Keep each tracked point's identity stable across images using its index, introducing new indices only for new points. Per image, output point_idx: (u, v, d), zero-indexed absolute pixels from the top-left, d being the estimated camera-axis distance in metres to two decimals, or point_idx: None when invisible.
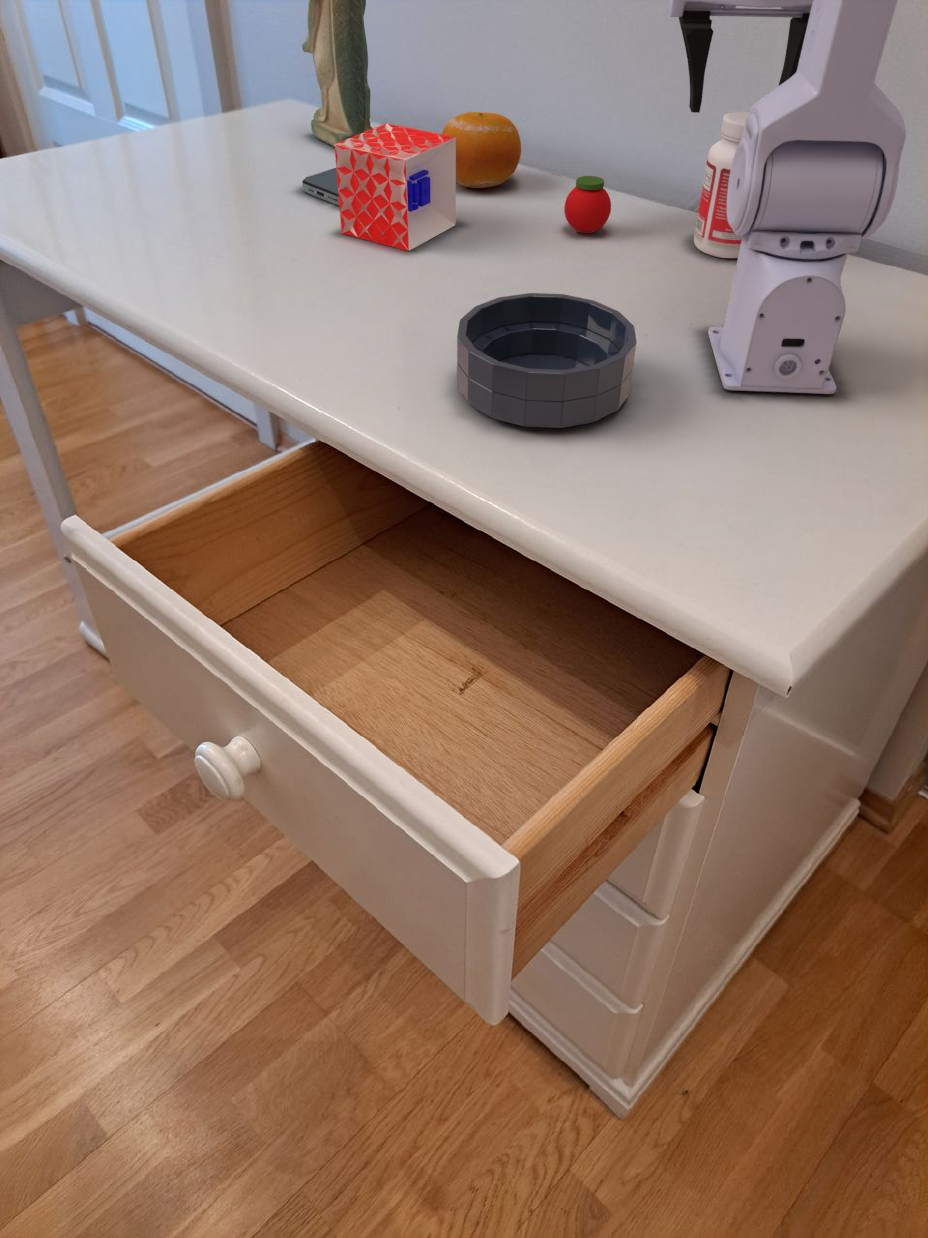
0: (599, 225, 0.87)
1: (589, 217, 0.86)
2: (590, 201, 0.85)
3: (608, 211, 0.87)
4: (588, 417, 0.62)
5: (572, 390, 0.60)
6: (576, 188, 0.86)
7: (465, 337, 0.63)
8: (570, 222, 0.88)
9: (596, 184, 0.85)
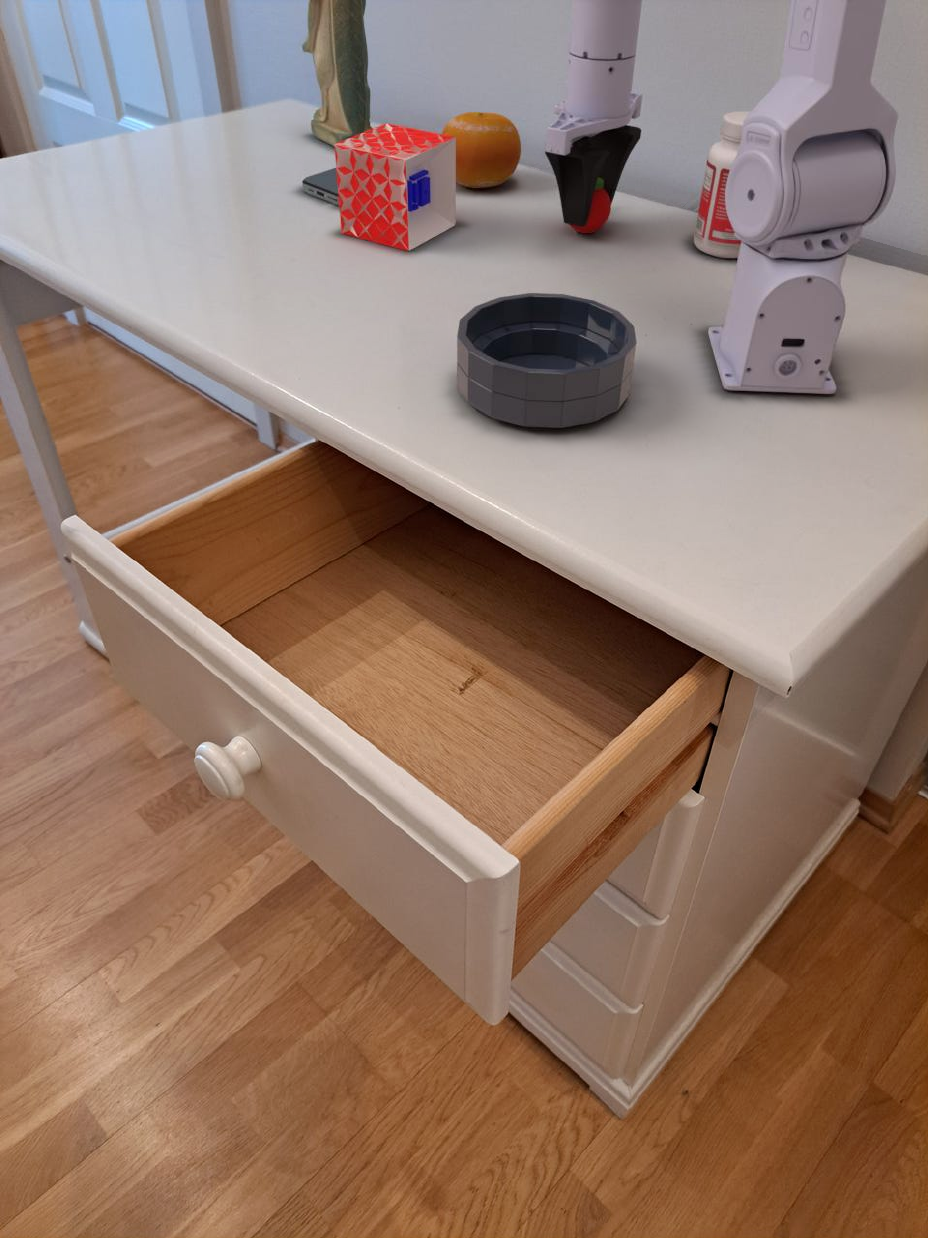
0: (599, 225, 0.87)
1: (589, 217, 0.86)
2: None
3: (608, 211, 0.87)
4: (588, 417, 0.62)
5: (572, 390, 0.60)
6: None
7: (465, 337, 0.63)
8: None
9: (596, 184, 0.85)
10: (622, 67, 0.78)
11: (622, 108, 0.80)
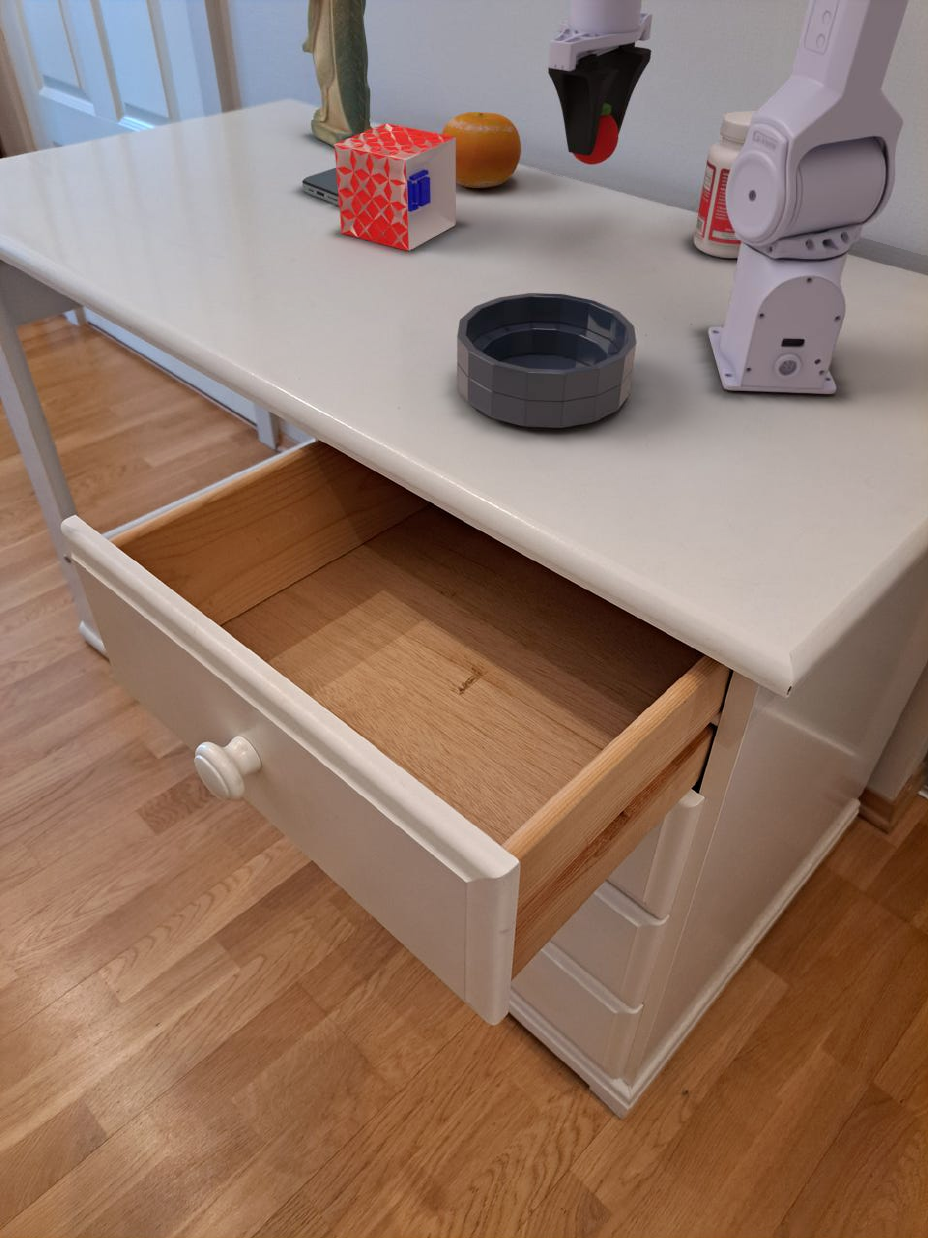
0: (606, 155, 0.82)
1: (595, 145, 0.81)
2: None
3: (615, 139, 0.81)
4: (588, 417, 0.62)
5: (572, 390, 0.60)
6: None
7: (465, 337, 0.63)
8: None
9: (603, 109, 0.80)
10: None
11: (631, 22, 0.74)
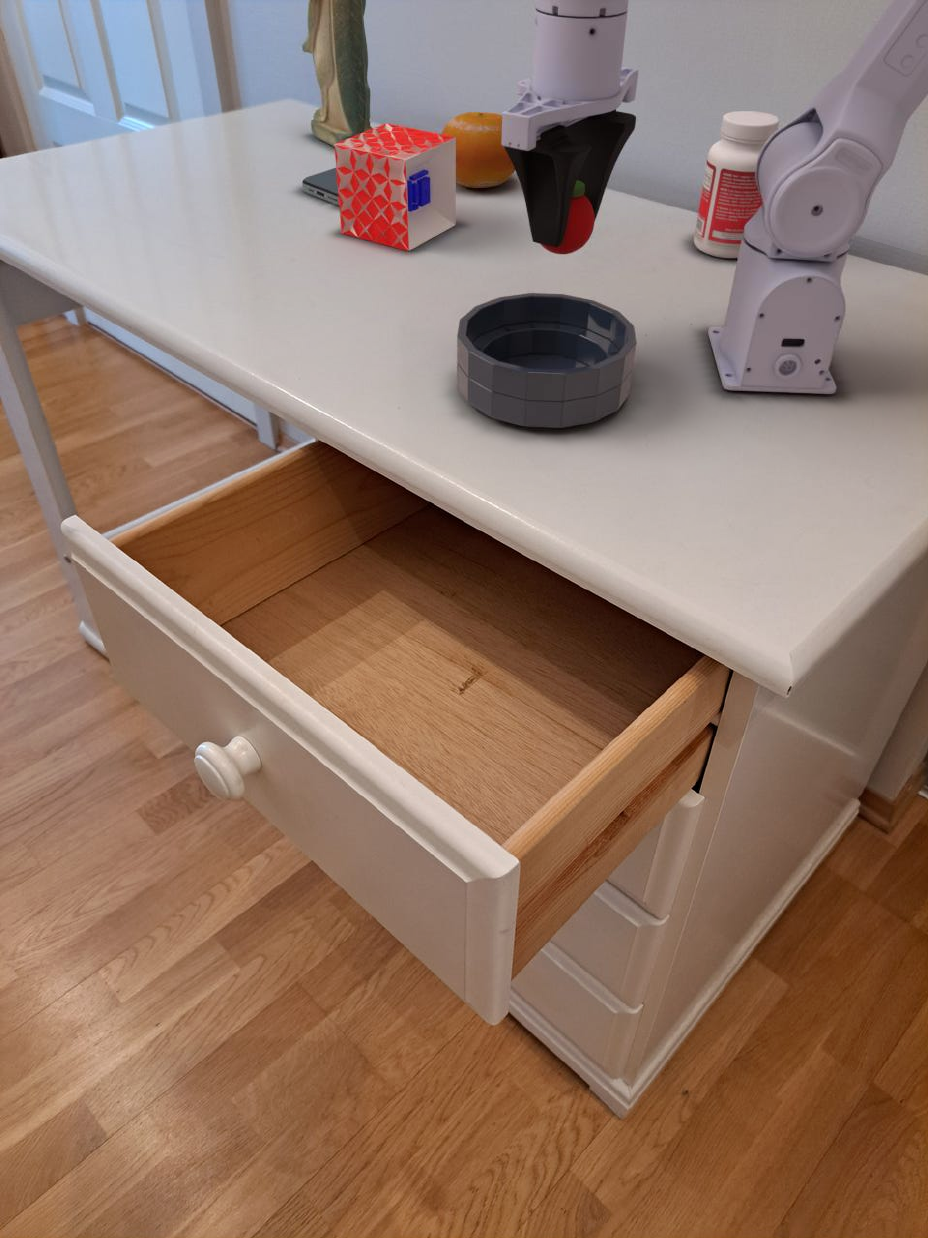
0: (578, 244, 0.65)
1: None
2: None
3: (590, 226, 0.65)
4: (588, 417, 0.62)
5: (572, 390, 0.60)
6: None
7: (465, 337, 0.63)
8: None
9: (574, 190, 0.63)
10: (608, 28, 0.56)
11: (608, 86, 0.58)
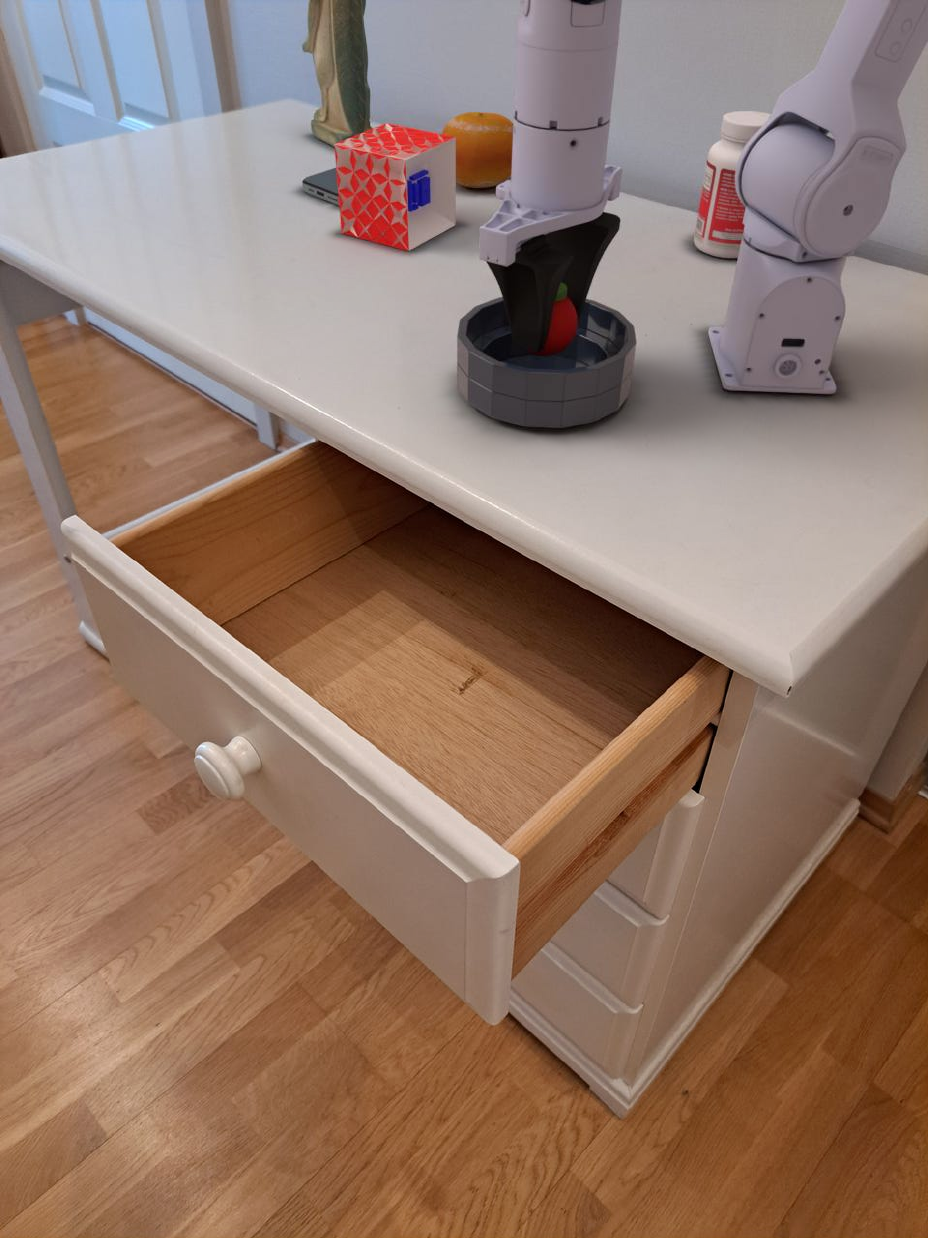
0: (561, 348, 0.63)
1: None
2: None
3: (573, 329, 0.62)
4: (588, 417, 0.62)
5: (572, 390, 0.60)
6: None
7: (465, 337, 0.63)
8: None
9: None
10: (590, 140, 0.53)
11: (591, 195, 0.56)
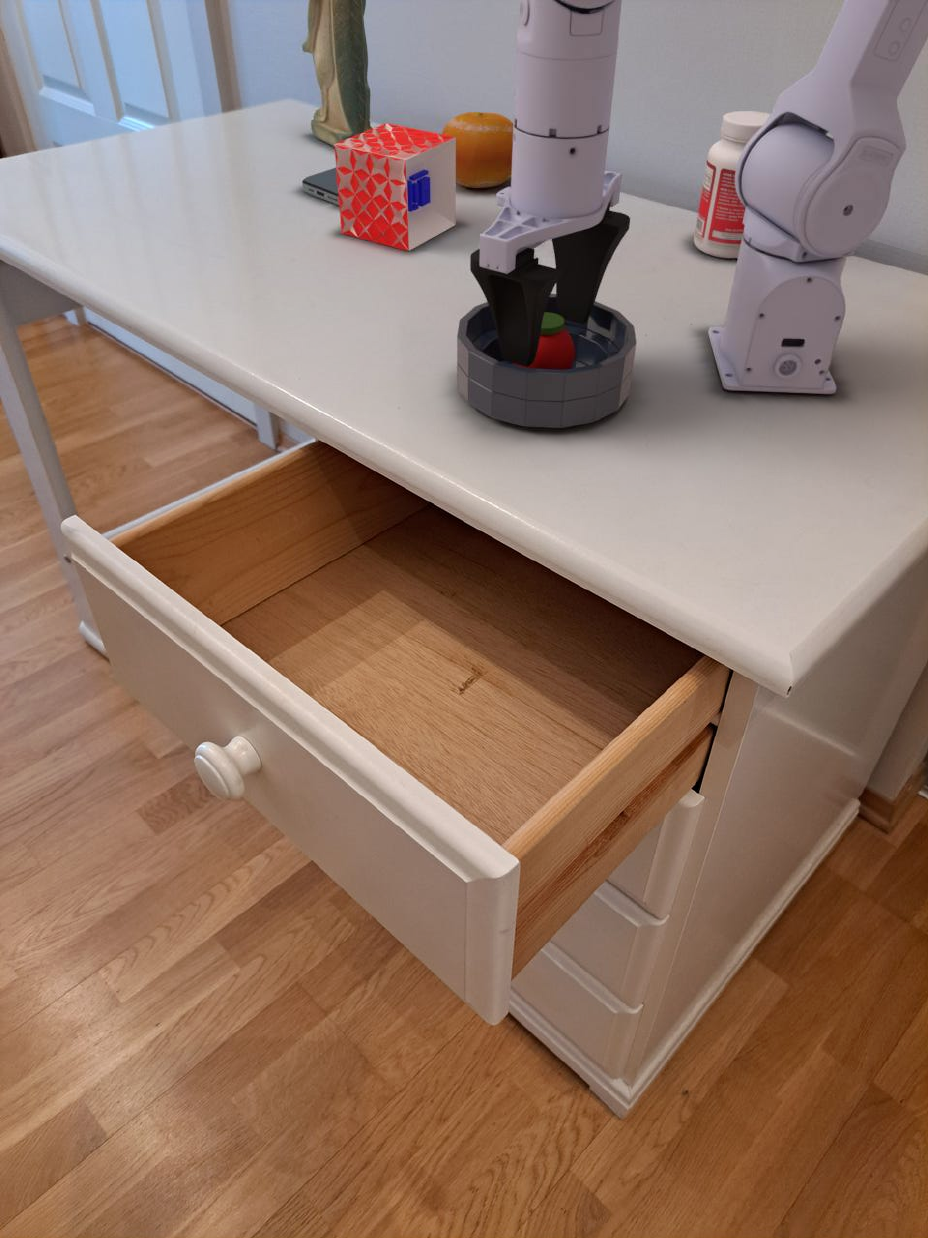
0: None
1: None
2: (545, 349, 0.63)
3: (571, 360, 0.64)
4: (588, 417, 0.62)
5: (572, 390, 0.60)
6: None
7: (465, 337, 0.63)
8: None
9: (553, 327, 0.62)
10: (589, 148, 0.53)
11: (590, 202, 0.56)
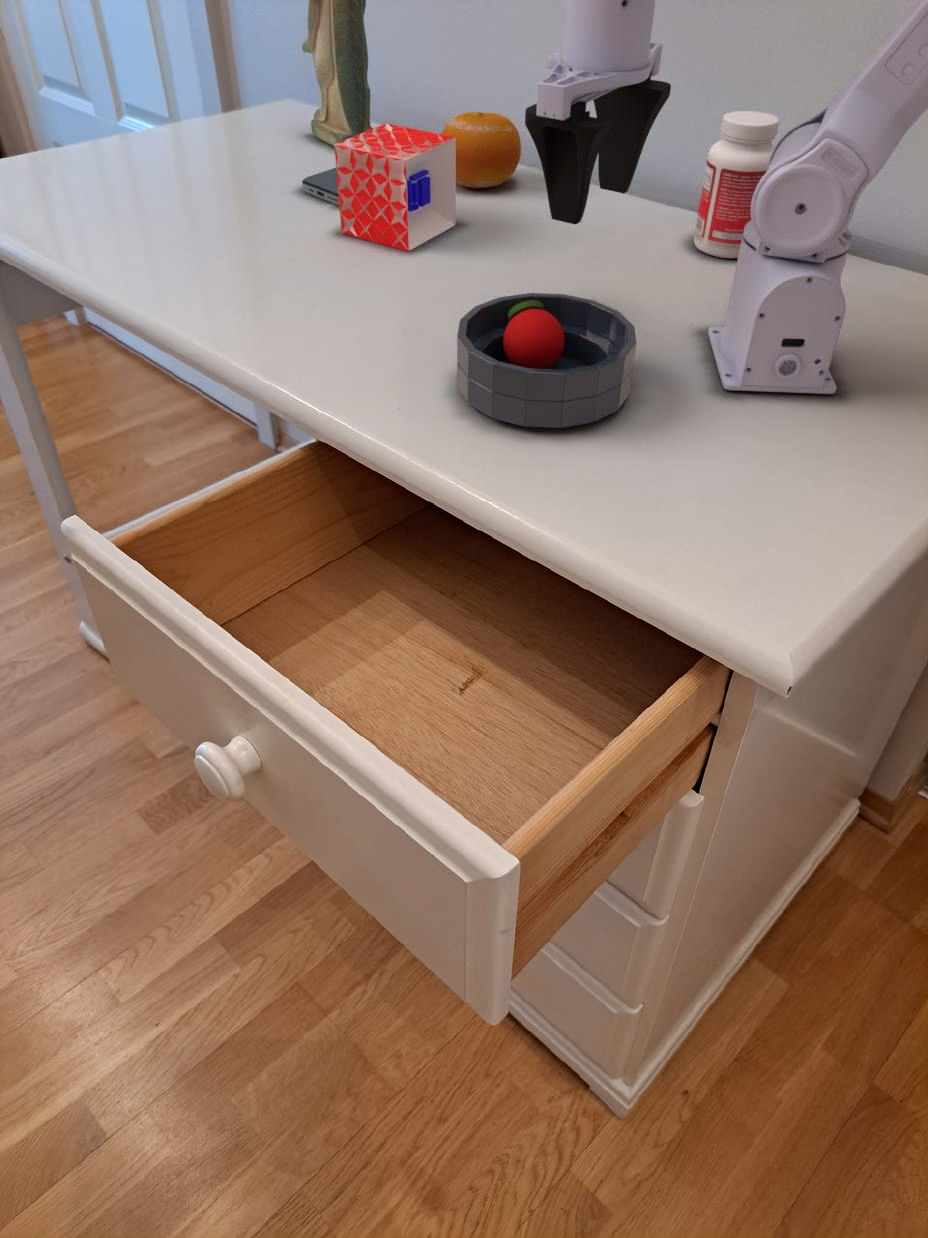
0: (551, 340, 0.64)
1: (532, 328, 0.64)
2: (527, 314, 0.65)
3: (558, 325, 0.65)
4: (588, 417, 0.62)
5: (572, 390, 0.60)
6: None
7: (465, 337, 0.63)
8: (514, 353, 0.65)
9: (531, 301, 0.66)
10: (640, 0, 0.57)
11: (639, 57, 0.60)
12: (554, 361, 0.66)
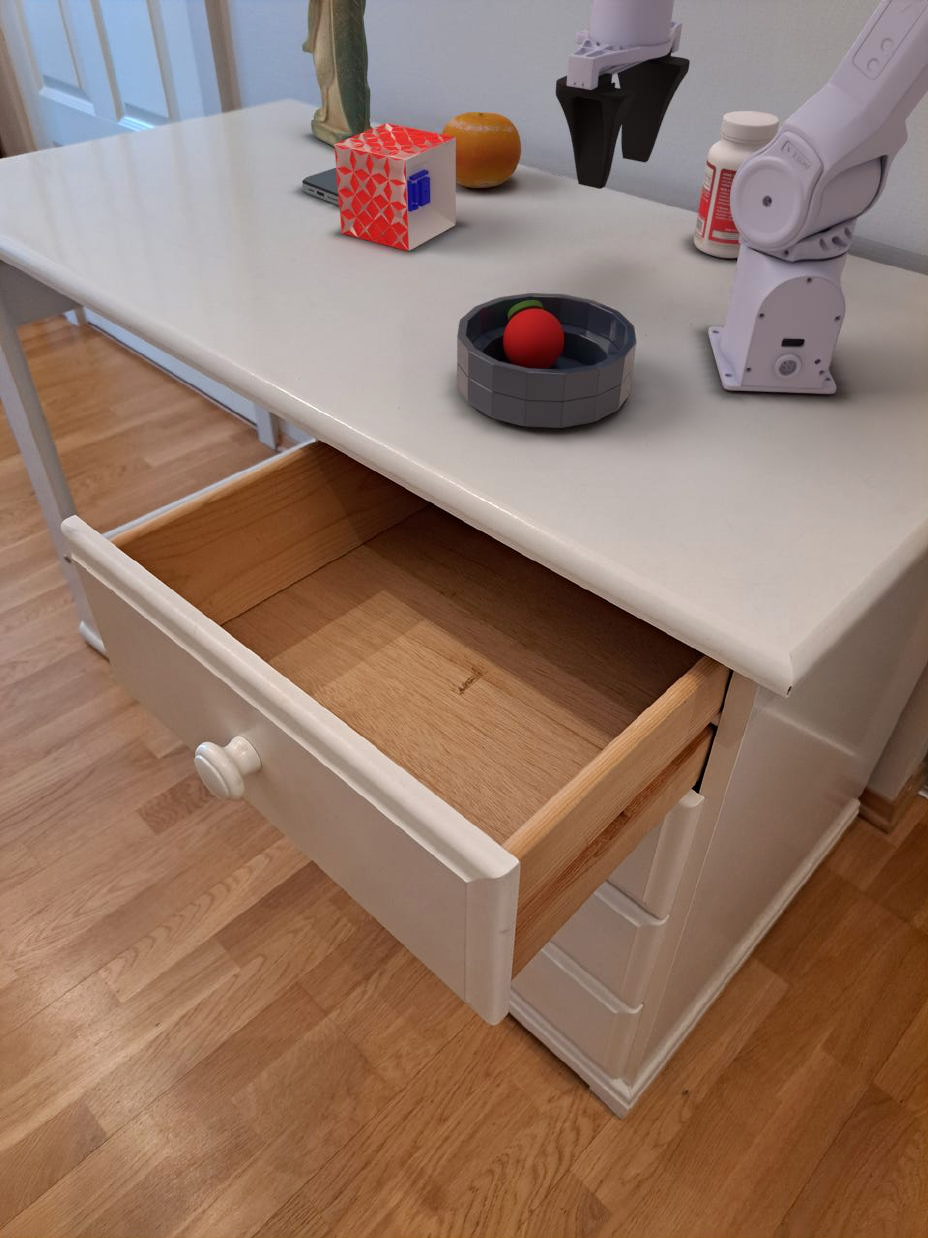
0: (551, 339, 0.65)
1: (532, 327, 0.64)
2: (527, 313, 0.65)
3: (557, 324, 0.65)
4: (588, 417, 0.62)
5: (572, 390, 0.60)
6: None
7: (465, 337, 0.63)
8: (513, 352, 0.65)
9: (530, 300, 0.66)
10: None
11: (661, 33, 0.65)
12: (554, 360, 0.66)
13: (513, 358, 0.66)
